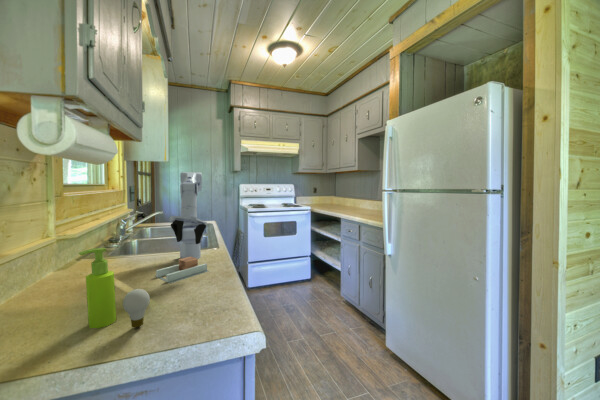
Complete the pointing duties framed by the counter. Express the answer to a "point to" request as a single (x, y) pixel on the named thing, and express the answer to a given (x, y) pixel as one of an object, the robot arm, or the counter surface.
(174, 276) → the channel
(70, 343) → the counter surface
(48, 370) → the counter surface
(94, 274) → the soap dispenser
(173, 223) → the robot arm
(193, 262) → the cube
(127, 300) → the light bulb
